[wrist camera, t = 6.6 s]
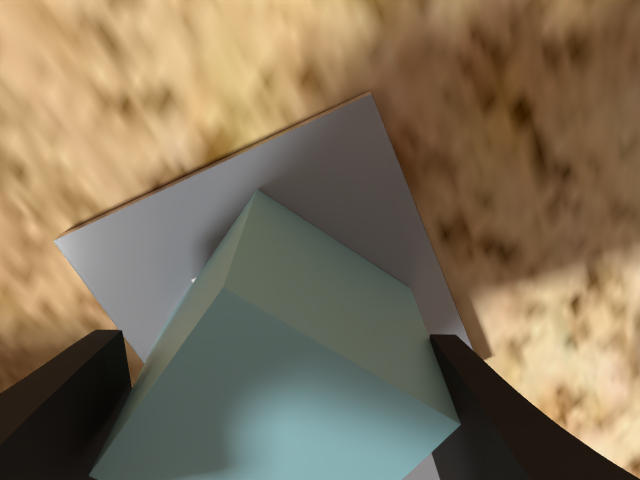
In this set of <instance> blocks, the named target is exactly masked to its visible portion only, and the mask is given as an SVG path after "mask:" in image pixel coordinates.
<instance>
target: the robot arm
mask: <svg viewBox="0 0 640 480" xmlns="http://www.w3.org/2000/svg"><path fill="white" fill-rule="evenodd" d="M429 340H430V342H431V345H432V348H433V350H434V353H435V356H436V359H437V361H438V364H439V367H440V369H441V372H442V374H443V377H444V380H445V383H446V385H447V388H448V391H449V394H450V396H451V399H452V402H453V404H454V407H455V410H456V413H457V415H458V418H459V421H460V423H461V425H460V426H459V427H458V428H457V429H456V430H455V431H454V432H453V433H451V434H450V435H449V436H448V437H447V438H446V439H445V440H444V441H443V442H442V443H441V444H440V445H439V446H438V447H436V448H435V449H434V450H433V451H432V452H431V453H432V456H433V459H434V462H435V466H436V469H437V472H438V475H439V478H440V480H640V479H639V478H637V477H636V476H634V475H632V474H631V473H629V472H627V471H626V470H624V469H622V468H621V467H619V466H617V465H616V464H614V463H613V462H611V461H610V460H608V459H606V458H605V457H603V456H602V455H600V454H599V453H597V452H596V451H594V450H593V449H591V448H590V447H589V446H587V445H586V444H584V443H583V442H581V441H580V440H579V439H577V438H576V437H574V436H573V435H571V434H570V433H569V432H567V431H566V430H565V429H563V428H562V427H560V426H559V425H558V424H556V423H555V422H554V421H553V420H551V419H550V418H549V417H548V416H546V415H545V414H544V413H543V412H541V411H540V410H539V409H538V408H536V407H535V406H534V405H533V404H531V403H530V402H529V401H528V400H527V399H526V398H524V397H523V396H522V395H521V394H520V393H518V392H517V391H516V390H515V389H514V388H513V387H512V386H510V385H509V384H508V383H507V382H506V381H505V380H504V379H503V378H502V377H501V376H499V375H498V374H497V373H496V372H495V371H494V370H493V369H492V368H491V367H490V366H489V365H488V364H487V363H486V362H484V361H483V360H482V359H481V358H480V357H479V356H478V355H477V354H476V353H475V352H474V351H473V350H472V349H471V348H470V347H469V346H468V345H467V344H466V343H465V342H463V341H462V340H461V339H460V338H459V337H458V336H457V335H456V334H430V338H429ZM131 390H132V386H131V380H130V374H129V368H128V362H127V356H126V350H125V344H124V338H123V332H122V330H95V331H93V332H91V333H90V334H88V335H87V336H85V337H84V338H82V339H81V340H79V341H78V342H76V343H75V344H73V345H72V346H70V347H69V348H67V349H66V350H65V351H63V352H62V353H60V354H59V355H57V356H56V357H54V358H53V359H52V360H50V361H49V362H47V363H46V364H44V365H43V366H41V367H40V368H38V369H37V370H35V371H34V372H33V373H31V374H30V375H28V376H27V377H25V378H24V379H22V380H21V381H19V382H18V383H16V384H15V385H13V386H12V387H10V388H8V389H7V390H5V391H4V392H2V393H0V480H97V479H95V478H93V477H90V476H89V474H90V472H91V470H92V468H93V466H94V464H95V462H96V460H97V458H98V456H99V454H100V452H101V450H102V448H103V446H104V444H105V442H106V440H107V438H108V436H109V434H110V432H111V430H112V428H113V426H114V424H115V422H116V420H117V418H118V416H119V414H120V412H121V410H122V408H123V406H124V404H125V402H126V400H127V398H128V396H129V394H130V392H131Z"/></svg>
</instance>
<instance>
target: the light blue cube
mask: <svg viewBox="0 0 640 480" xmlns="http://www.w3.org/2000/svg"><path fill="white" fill-rule="evenodd" d="M460 425H461V423H460V421H459V418H458V415H457V413H456V410H455V407H454V404H453V402H452V399H451V396H450V394H449V391H448V388H447V385H446V383H445V380H444V377H443V374H442V372H441V369H440V367H439V364H438V361H437V359H436V356H435V353H434V350H433V348H432V345H431V342H430V340H429V336H428V334H427V331H426V328H425V325H424V323H423V320H422V317H421V315H420V312H419V309H418V306H417V304H416V301H415V298H414V295H413V293H412V290H411V288H409V287H408V286H406V285H405V284H403V283H402V282H400V281H399V280H397V279H395V278H394V277H392V276H391V275H389V274H388V273H386V272H385V271H383V270H382V269H380V268H378V267H377V266H375V265H374V264H372V263H371V262H369V261H368V260H366V259H365V258H363V257H362V256H360V255H358V254H357V253H355V252H354V251H352V250H351V249H349V248H348V247H346V246H345V245H343V244H341V243H340V242H338V241H337V240H335V239H334V238H332V237H331V236H329V235H328V234H326V233H324V232H323V231H321V230H320V229H318V228H317V227H315V226H314V225H312V224H311V223H309V222H307V221H306V220H304V219H303V218H301V217H300V216H298V215H297V214H295V213H294V212H292V211H291V210H289V209H287V208H286V207H284V206H283V205H281V204H280V203H278V202H277V201H275V200H274V199H272V198H270V197H269V196H267V195H266V194H264V193H263V192H261V191H260V190H258V189H257V190H256V191H255V193H254V194H253V196H252V197H251V199H250V200H249V201H248V203H247V204H246V206H245V207H244V209H243V210H242V212H241V213H240V215H239V216H238V218H237V219H236V221H235V222H234V223H233V225H232V226H231V228H230V229H229V231H228V232H227V234H226V235H225V237H224V238H223V240H222V241H221V242H220V244H219V245H218V247H217V248H216V250H215V251H214V253H213V254H212V256H211V257H210V259H209V260H208V262H207V263H206V264H205V266H204V267H203V269H202V270H201V272H200V273H199V275H198V276H197V278H196V279H195V281H194V282H193V283H192V285H191V286H190V288H189V289H188V291H187V292H186V294H185V295H184V297H183V298H182V300H181V301H180V303H179V304H178V305H177V307H176V308H175V310H174V311H173V313H172V314H171V316H170V317H169V319H168V320H167V322H166V323H165V324H164V326H163V328H162V330H161V332H160V334H159V336H158V338H157V340H156V342H155V344H154V346H153V348H152V350H151V352H150V354H149V356H148V358H147V360H146V362H145V364H144V366H143V368H142V370H141V372H140V374H139V376H138V378H137V380H136V382H135V384H134V386H133V388H132V390H131V392H130V394H129V396H128V398H127V400H126V402H125V404H124V406H123V408H122V410H121V412H120V414H119V416H118V418H117V420H116V422H115V424H114V426H113V428H112V430H111V432H110V434H109V436H108V438H107V440H106V442H105V444H104V446H103V448H102V450H101V452H100V454H99V456H98V458H97V460H96V462H95V464H94V466H93V468H92V470H91V472H90V474H89V476H90V477H93V478H95V479H97V480H402V479H403V478H404V477H405V476H407V475H408V474H409V473H410V472H411V471H412V470H413V469H414V468H415V467H416V466H417V465H418V464H419V463H420V462H422V461H423V460H424V459H425V458H426V457H427V456H428V455H429V454H430V453H431V452H432V451H433V450H434V449H435V448H436V447H438V446H439V445H440V444H441V443H442V442H443V441H444V440H445V439H446V438H447V437H448V436H449V435H450V434H451V433H453V432H454V431H455V430H456V429H457V428H458V427H459V426H460Z"/></svg>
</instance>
